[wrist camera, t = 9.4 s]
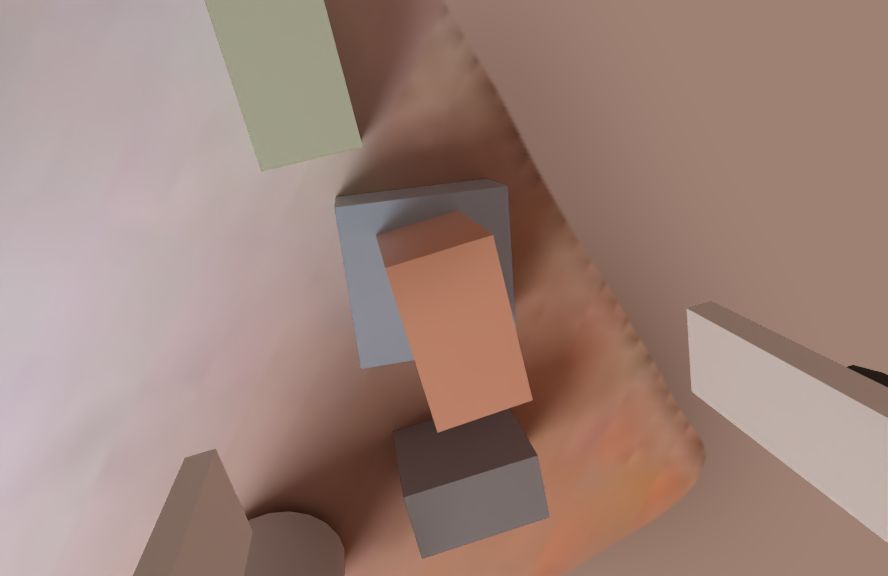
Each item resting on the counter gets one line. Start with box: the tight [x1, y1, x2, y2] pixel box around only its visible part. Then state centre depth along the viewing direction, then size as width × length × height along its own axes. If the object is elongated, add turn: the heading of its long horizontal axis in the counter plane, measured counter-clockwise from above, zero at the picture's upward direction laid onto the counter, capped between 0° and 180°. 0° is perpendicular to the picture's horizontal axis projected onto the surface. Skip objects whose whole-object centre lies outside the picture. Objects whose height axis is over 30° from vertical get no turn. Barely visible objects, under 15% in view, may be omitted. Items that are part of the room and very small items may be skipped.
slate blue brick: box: [335, 179, 516, 369], centre depth 27 cm, size 8×8×4 cm
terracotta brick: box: [376, 210, 533, 433], centre depth 22 cm, size 7×4×6 cm, turn 15°
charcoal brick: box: [393, 408, 549, 559], centre depth 29 cm, size 7×4×6 cm, turn 103°
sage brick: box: [205, 0, 363, 171], centre depth 22 cm, size 7×4×6 cm, turn 13°
